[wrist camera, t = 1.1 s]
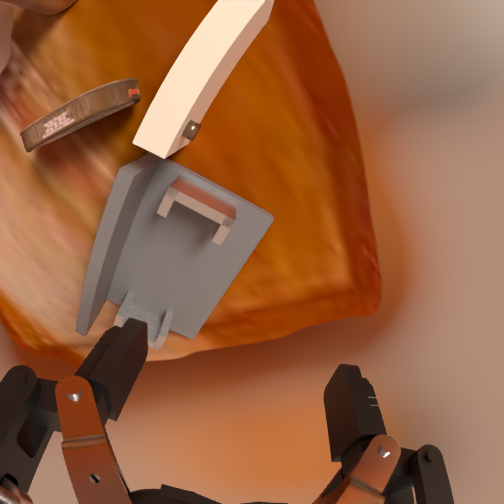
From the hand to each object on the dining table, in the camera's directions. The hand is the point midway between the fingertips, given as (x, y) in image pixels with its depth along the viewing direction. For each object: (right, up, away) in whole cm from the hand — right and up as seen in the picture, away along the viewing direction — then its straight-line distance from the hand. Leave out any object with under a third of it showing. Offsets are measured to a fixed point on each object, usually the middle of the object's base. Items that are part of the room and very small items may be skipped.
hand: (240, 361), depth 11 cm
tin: (-18, +21, +16) cm, 32 cm away
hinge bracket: (-10, +4, +25) cm, 27 cm away
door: (-3, +23, +14) cm, 28 cm away
